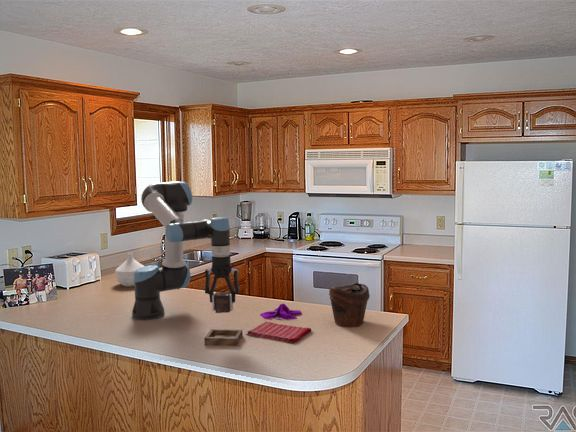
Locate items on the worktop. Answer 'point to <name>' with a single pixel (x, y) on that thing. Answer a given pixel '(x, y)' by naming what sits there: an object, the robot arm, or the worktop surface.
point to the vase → (127, 271)
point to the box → (222, 302)
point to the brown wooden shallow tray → (223, 337)
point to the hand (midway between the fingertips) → (222, 309)
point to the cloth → (281, 313)
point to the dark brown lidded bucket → (349, 304)
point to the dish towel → (279, 332)
